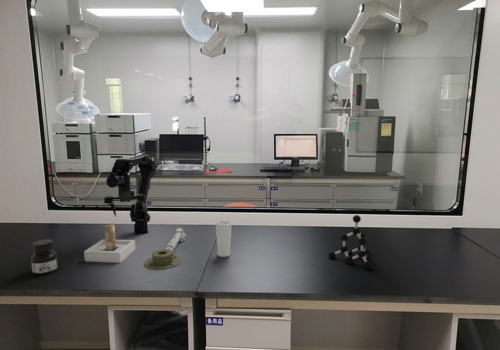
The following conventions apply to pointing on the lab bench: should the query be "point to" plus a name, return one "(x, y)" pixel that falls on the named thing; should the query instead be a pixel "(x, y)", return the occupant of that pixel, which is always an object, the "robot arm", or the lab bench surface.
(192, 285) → the lab bench surface
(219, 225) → the drinking glass
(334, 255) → the molecular model
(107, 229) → the peg
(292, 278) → the lab bench surface
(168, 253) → the flange
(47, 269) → the ink bottle
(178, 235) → the light grey piece
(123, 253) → the box
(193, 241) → the lab bench surface
